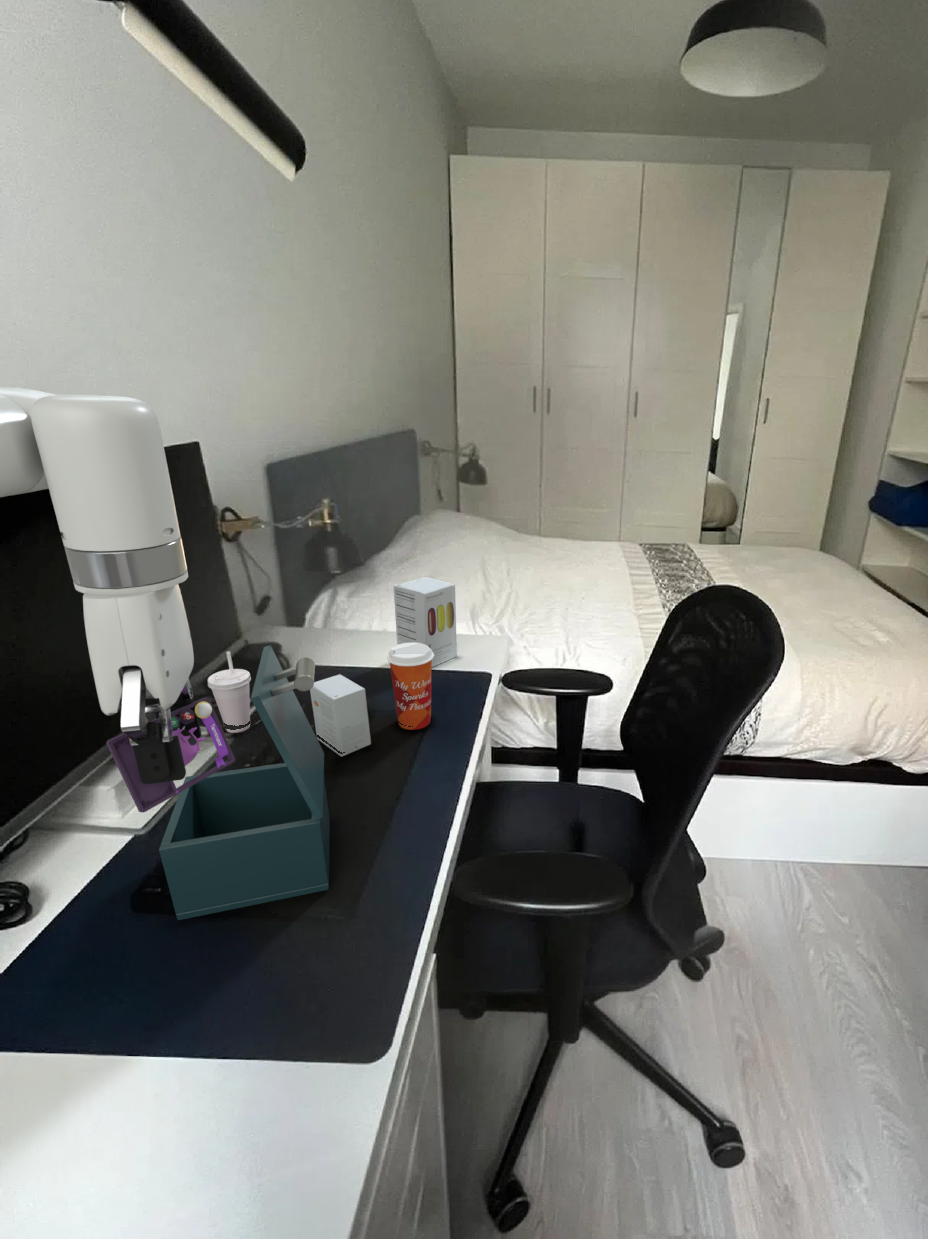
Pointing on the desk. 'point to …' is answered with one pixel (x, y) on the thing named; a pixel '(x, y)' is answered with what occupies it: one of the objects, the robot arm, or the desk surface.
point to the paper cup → (412, 683)
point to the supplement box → (427, 616)
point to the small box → (341, 714)
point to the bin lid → (291, 723)
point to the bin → (243, 842)
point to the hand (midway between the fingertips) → (173, 757)
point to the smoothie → (232, 695)
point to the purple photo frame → (160, 792)
